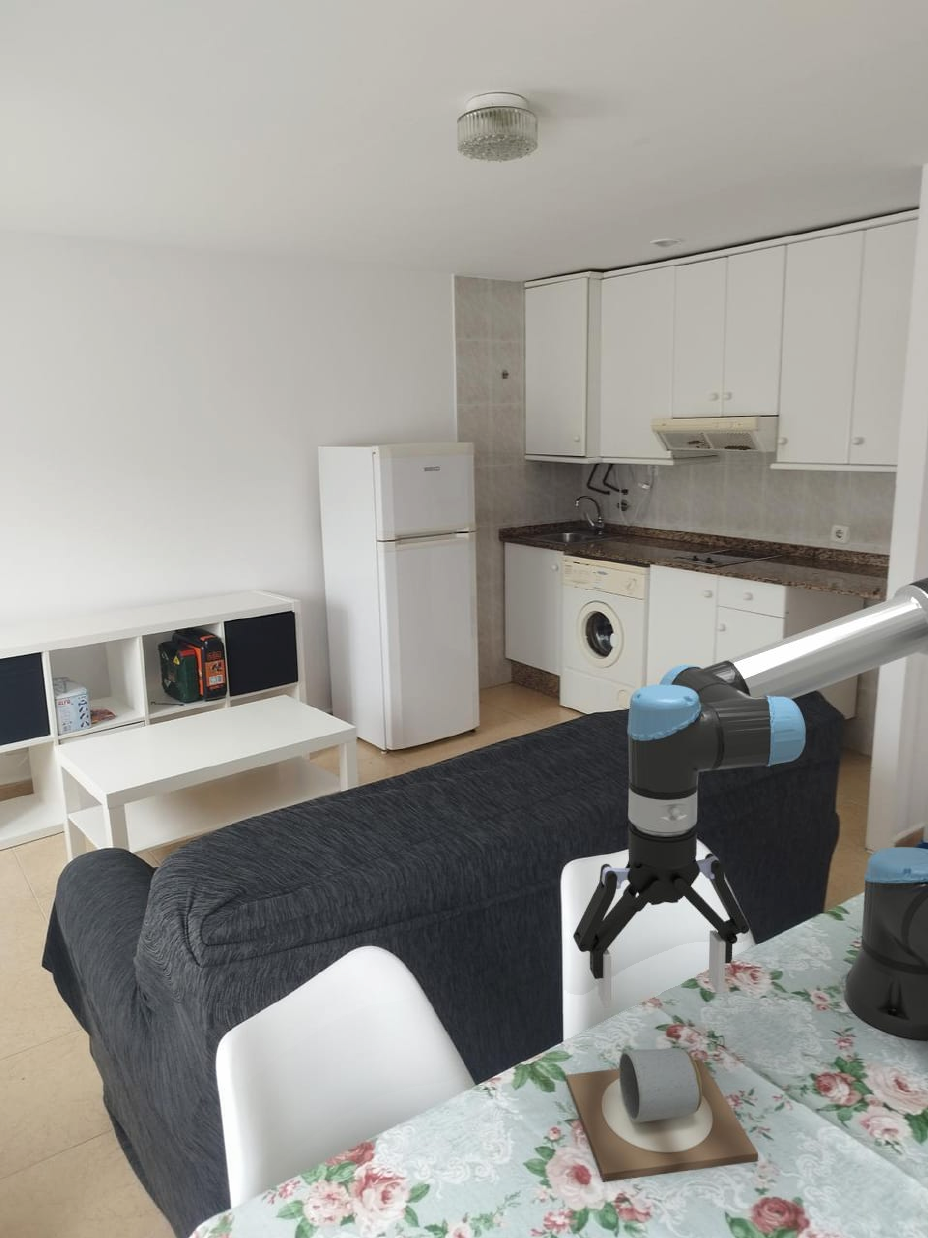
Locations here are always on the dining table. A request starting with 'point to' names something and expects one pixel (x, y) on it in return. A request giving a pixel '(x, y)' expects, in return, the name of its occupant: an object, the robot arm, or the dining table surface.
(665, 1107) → the ceramic mug
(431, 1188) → the dining table surface
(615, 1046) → the dining table surface
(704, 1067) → the board
